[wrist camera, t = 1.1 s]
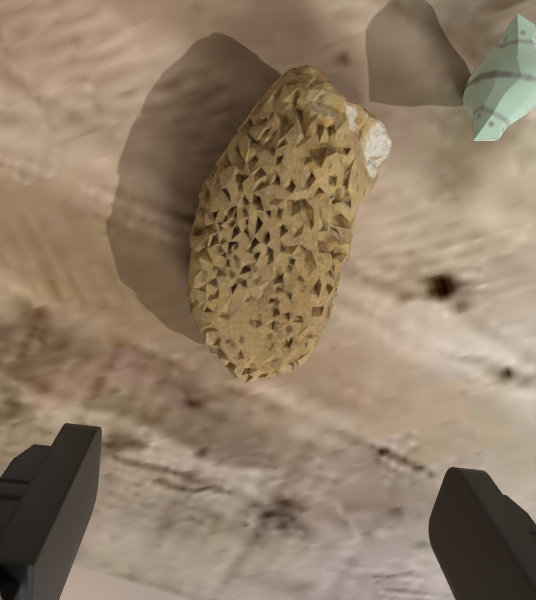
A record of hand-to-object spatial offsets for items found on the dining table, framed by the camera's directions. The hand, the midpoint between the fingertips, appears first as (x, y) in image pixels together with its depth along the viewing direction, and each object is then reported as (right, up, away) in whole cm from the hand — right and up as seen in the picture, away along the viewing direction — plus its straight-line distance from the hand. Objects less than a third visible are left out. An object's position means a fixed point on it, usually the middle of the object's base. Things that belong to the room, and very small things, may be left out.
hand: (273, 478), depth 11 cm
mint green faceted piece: (+15, +19, +25) cm, 35 cm away
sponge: (0, +9, +26) cm, 27 cm away
